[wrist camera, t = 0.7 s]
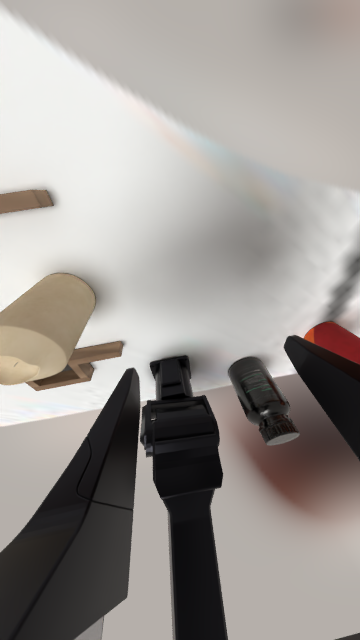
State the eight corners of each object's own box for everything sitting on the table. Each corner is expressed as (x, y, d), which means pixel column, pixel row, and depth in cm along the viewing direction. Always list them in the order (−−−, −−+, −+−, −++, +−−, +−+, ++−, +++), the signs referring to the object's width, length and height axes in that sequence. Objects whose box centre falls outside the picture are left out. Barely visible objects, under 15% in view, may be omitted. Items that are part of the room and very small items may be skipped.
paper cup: (288, 344, 30) (369, 433, 19) (325, 311, 26) (455, 399, 15) (315, 351, 32) (399, 433, 21) (351, 322, 28) (477, 404, 17)
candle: (83, 323, 21) (43, 402, 13) (32, 300, 18) (-59, 382, 10) (105, 292, 19) (72, 364, 11) (50, 261, 16) (-46, 327, 8)
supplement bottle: (259, 373, 34) (300, 441, 25) (227, 380, 34) (256, 451, 25) (263, 352, 30) (314, 425, 21) (227, 361, 30) (262, 437, 21)
